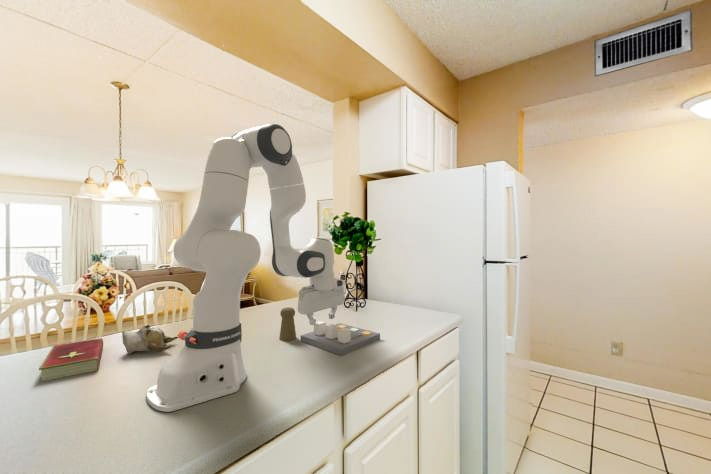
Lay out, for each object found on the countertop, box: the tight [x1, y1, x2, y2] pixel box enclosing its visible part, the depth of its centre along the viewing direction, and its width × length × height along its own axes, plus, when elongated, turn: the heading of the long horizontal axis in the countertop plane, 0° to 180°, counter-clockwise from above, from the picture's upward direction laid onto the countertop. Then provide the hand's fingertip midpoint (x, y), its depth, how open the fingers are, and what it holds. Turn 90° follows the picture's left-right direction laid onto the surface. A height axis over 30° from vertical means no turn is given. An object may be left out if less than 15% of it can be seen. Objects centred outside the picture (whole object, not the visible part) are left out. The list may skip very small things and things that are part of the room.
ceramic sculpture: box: [121, 324, 179, 355], centre depth 103 cm, size 11×9×15 cm
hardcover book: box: [38, 337, 104, 382], centre depth 93 cm, size 12×21×4 cm, turn 36°
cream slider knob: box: [338, 327, 351, 344], centre depth 105 cm, size 3×3×4 cm
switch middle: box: [325, 323, 338, 339], centre depth 109 cm, size 3×3×4 cm
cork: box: [279, 307, 297, 342], centre depth 114 cm, size 6×6×11 cm
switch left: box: [313, 320, 327, 336], centre depth 113 cm, size 3×3×4 cm
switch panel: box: [300, 322, 381, 356], centre depth 112 cm, size 20×20×2 cm
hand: (322, 321), depth 114 cm, fingers open, 8 cm apart
